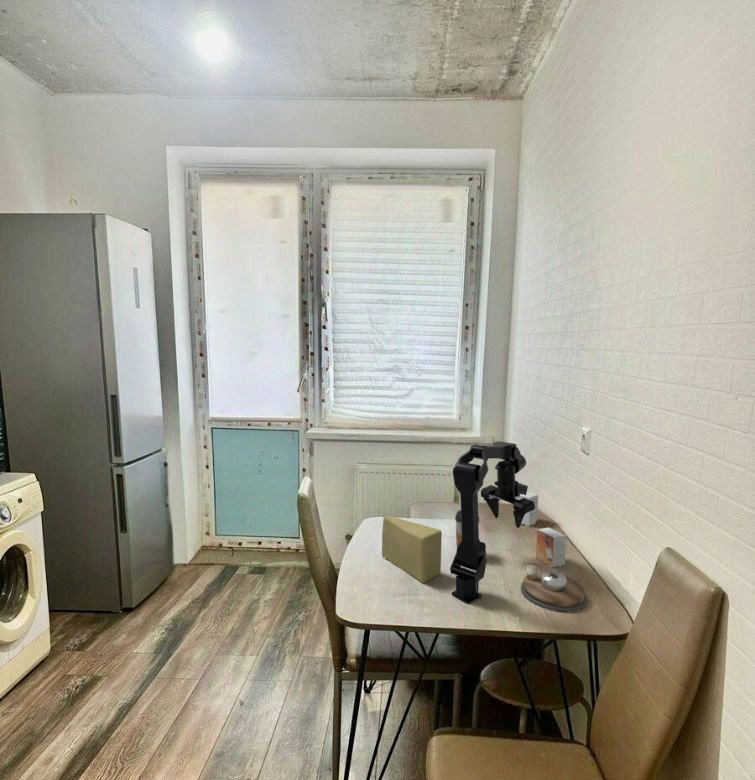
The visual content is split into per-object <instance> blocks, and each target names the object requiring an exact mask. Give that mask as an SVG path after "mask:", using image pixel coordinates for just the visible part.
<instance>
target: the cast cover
mask: <svg viewBox="0 0 755 780" xmlns="http://www.w3.org/2000/svg"><path fill="white" fill-rule="evenodd" d="M541 572H542V573H541V586H542V587H543V588H544V589H546V590H548V591H551V592H564V591H565V590H566V580H567V578H566V577H567V576H565V575H564V574H563V573H561V572H558V571H556V570H544V571H541Z"/></svg>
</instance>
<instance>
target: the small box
mask: <svg viewBox="0 0 755 780" xmlns="http://www.w3.org/2000/svg"><path fill="white" fill-rule="evenodd" d="M566 543H567V535H565V534H563V533H561V532H559V531H557V530H555V529H553V528H552V527H545V528H538V529H537V532H536V548H535V549H536V550H535V558H536V559H537V558H538V559H537V560H539V561H540V560H541V562H542V561H543V562H542V563H544V562H545V563H546V564H545V563H544V564H545V565H547V564H548V565H550V566H552V567H554V566H559V567H561V566H560V565H564V566H565V565H566V564H565V562H566V547H567V546H566V545H567V544H566ZM548 565H547V566H548ZM550 566H549V567H550ZM554 568H555V567H554Z"/></svg>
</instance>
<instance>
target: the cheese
mask: <svg viewBox="0 0 755 780" xmlns="http://www.w3.org/2000/svg"><path fill="white" fill-rule="evenodd" d="M442 535H443V533H442V530H440V529H437V528H434V527H430V526H427V525H425V524H424V525H423V524H420V523H418V522H417V523H416V522H413V521H409V520H405V519H403V518H399V517H396V516H393V515H386V516H384V517H383V518H382V531H381V538H382V539H381V556H383V557H385V558H386V559H385V558H384V559H385V560H387V559H388V560H389V561H388V560H387V561H388V562H390V561H391V562H390V563H392V564H393V563H394V564H393V565H395V564H396V565H397V566H396V565H395V566H396V567H398V566H399V567H398V568H400V569H401V568H402V570H403V571H405V572H406V573H408V574H409V575H410V576H412V577H413V578H415V579H416V580H417V581H419V582H421V583H426V582H428V581H430V580H432V579H434V578H436V577H437V576H440V574H441V573H442V572H441V569H442V568H441V567H442V566H441V565H442ZM383 557H382V558H383Z"/></svg>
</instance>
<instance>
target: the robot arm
mask: <svg viewBox="0 0 755 780" xmlns="http://www.w3.org/2000/svg"><path fill="white" fill-rule="evenodd" d="M474 459H479V460H483V462H482V464H481V465H480V464H475V463H471V462H472V461H473V460H474ZM491 459H498V460H501V461H498V462H497V464H496V465H495V467H494V469H495V470H496V474H497V476H496V478H497V480H496V481H494V485H495V486H494V485H493V484H490V485H488V486H485V487H483V485H484V480H485V478H486V476H487V474H488V471H489V466H488V460H491ZM526 465H527V461H526V458H525V456H523V454H521V451H520V450H519V447H517V444H516V443H512V442H507V441H499V440H498V441H494V442H493V443H492V444H483V445H482V444H480V445H479V444H472V445H471V446H470V448H469V450H468V451H466V452H465V453H463V454H462V455H461V456H459V457H458V459H457V461H456V463H455V464H454V466H453V468H452V477H453V484H454V486H455V487H456V489H457V491H458V493H459V496H460V510H461V527H462V541H461V543H460V544H459V546H458V547H457V546H456V552H455V555H454V558H453V560H452V562H451V565H450V567H449V570H450V574H452V575H456V577H455V590H454V591H452V592H451V595H452V596H454V597H455V598H457V599H459V600H461V601H463V602H464V603H465V604H470V603H473V602H475V601H476V600H478V599H481V598H482V597H483V595H482V594H481V593H480V592H479V582H480V581H481V580H482V579H484V578H485V574H486V568H487V567H486V566H487V562H488V560H487V552H486V551H487V545H486V543H485V542H483V541H481V540H480V535H479V533H480V530H479V523H478V516H479V495H478V494H479V492H480V497H481V498H483V501H485V503H486V504H487V506H488V507H489V509H490V511H491V512H492V514H493V516H494V517H495V518H496V519H498V518H499V513H500V507H499V505H500V504H499V503H500V500H502V501H504V502H507V503H509V504H512V506H513V507H512V508H513V511H512V514H513V519H515V522H514V523H515V526H516V529H518V528H520V527H521V525H522V524H521V522H522V520H523V517H524V515H525V514H526V513H528V512H530V511H532V510H534V509H535V503H534V502H533V501H531V500H529V499H526V498H523V499H520V500H518V499H515V497H519V496H520V494H524V495H526V493H527V492H528V489H529V486H528V485H527V484H523V483H520V482H518V480H516V475H517V474H518V473H519V472H520V471H522V470H523V469H524V468H525V467H526ZM482 487H483V488H482ZM514 510H515V511H514Z"/></svg>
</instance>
